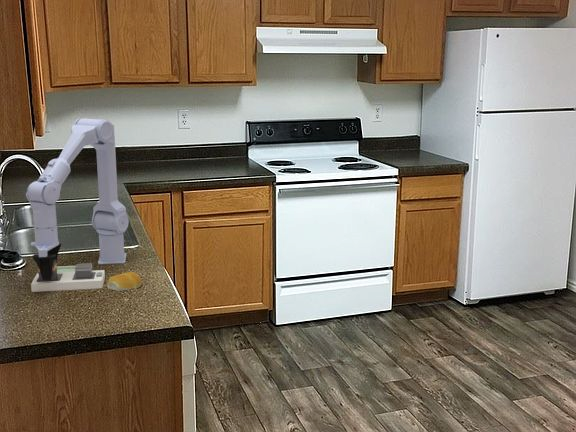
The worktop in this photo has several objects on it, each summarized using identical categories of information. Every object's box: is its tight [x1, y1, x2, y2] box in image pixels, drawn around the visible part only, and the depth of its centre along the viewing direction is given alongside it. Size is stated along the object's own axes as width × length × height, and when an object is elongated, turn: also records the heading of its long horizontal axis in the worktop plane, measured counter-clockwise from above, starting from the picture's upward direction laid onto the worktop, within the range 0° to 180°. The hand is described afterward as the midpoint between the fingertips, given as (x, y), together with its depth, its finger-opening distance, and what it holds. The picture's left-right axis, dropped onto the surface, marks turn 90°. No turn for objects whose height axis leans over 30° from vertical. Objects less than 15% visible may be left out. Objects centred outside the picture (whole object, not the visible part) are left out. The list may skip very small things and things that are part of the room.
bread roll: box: [106, 271, 143, 292], centre depth 179 cm, size 8×9×4 cm
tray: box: [57, 265, 76, 272], centre depth 188 cm, size 9×9×1 cm
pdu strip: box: [30, 262, 106, 293], centre depth 179 cm, size 9×18×6 cm, turn 101°
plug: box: [37, 260, 58, 282], centre depth 178 cm, size 4×4×7 cm
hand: (49, 274), depth 178 cm, fingers open, 7 cm apart
